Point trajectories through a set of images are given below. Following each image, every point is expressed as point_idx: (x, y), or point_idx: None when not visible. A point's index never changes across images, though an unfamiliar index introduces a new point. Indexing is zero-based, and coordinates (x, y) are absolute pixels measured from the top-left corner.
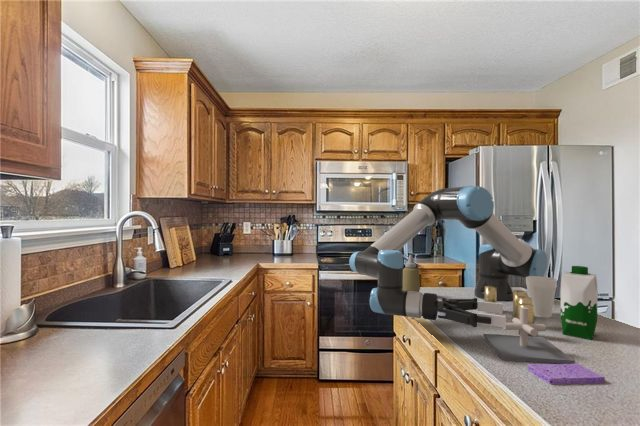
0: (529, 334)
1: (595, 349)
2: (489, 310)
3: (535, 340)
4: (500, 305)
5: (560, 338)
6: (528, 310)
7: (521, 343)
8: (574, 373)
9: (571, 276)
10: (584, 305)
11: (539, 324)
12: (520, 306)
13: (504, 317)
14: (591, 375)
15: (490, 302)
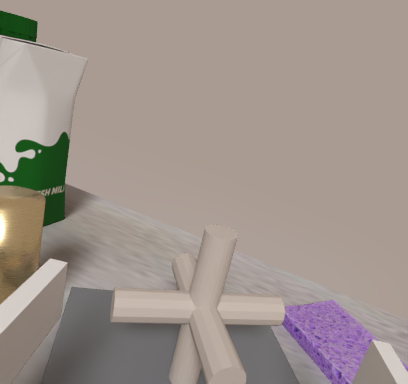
0: None
1: (128, 240)
2: (15, 367)
3: (109, 318)
4: (61, 278)
5: (46, 255)
6: (40, 220)
7: (196, 378)
8: (358, 340)
9: (49, 51)
10: (69, 139)
11: (193, 262)
12: (8, 217)
13: (390, 353)
14: (342, 315)
15: (8, 303)
